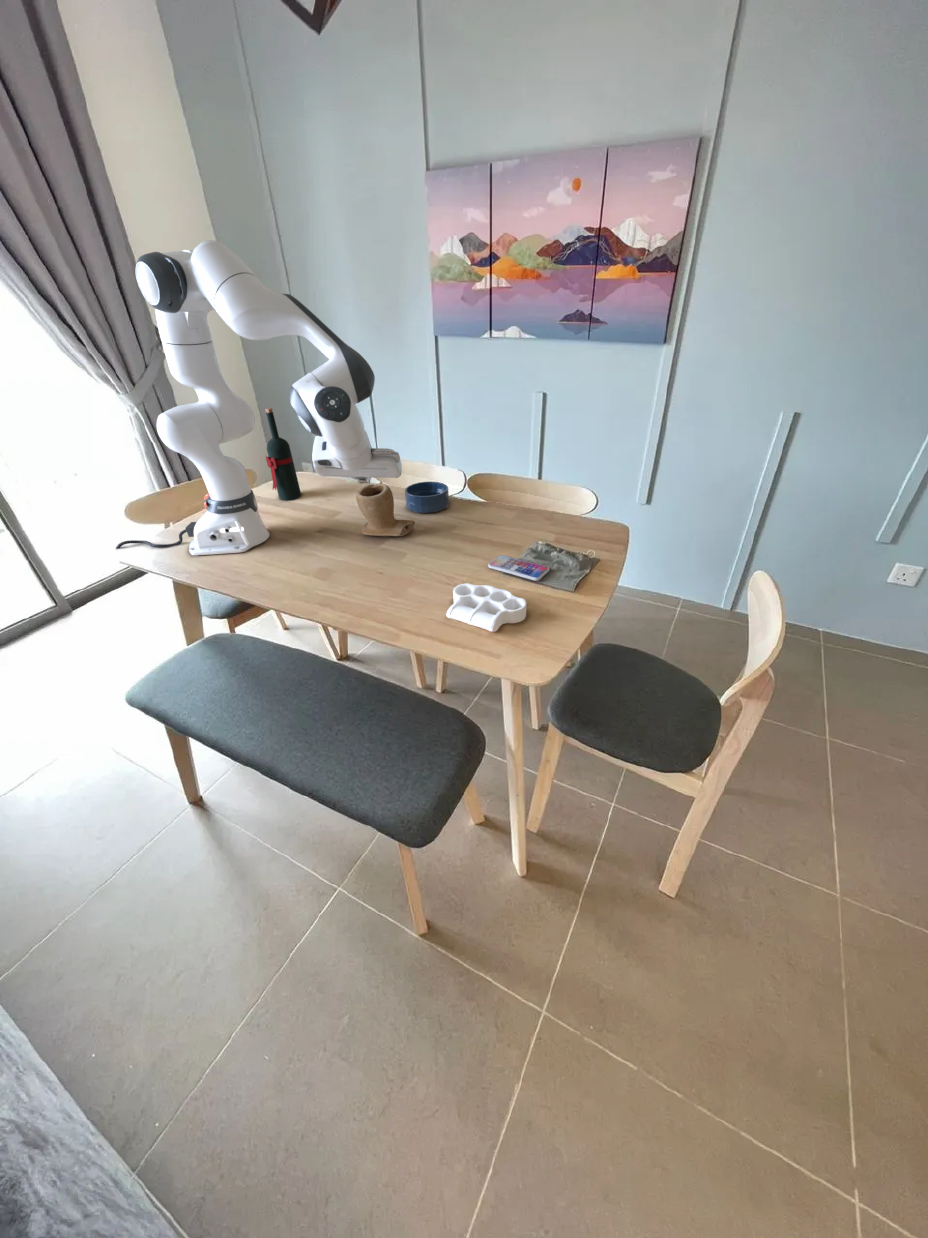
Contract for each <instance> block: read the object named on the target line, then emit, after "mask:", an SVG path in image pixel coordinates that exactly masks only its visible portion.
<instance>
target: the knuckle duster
mask: <svg viewBox="0 0 928 1238" xmlns="http://www.w3.org/2000/svg"><path fill="white" fill-rule="evenodd" d="M452 594H453V596H452V597H453V604H451V605H450V606H449V608H448V609H447V611H446V614H445V615H446V618H448V619H452V620H455V621H458V622H461V623H464V624H467V625H470V626H474V627H476V628H480V629H483V630H486V631H488V632H492V633H495V632H497V631H498V630H499V629H500V627H501V626H503V625H505V624H517V623H521V622H522V621H525V619H526V617H527V605H528V604H527V601H526V600H525V598H523V597H519V596H516V595H513V593H512V592H511V591H509V590H506V589H505V588H502V589H501V588H496V587H495V586H492V585H487V584H481V585H476V584H471V583H469V582H466V583H460V584H457V585H456V586H455V587H454V588H453V590H452Z"/></svg>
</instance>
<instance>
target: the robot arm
mask: <svg viewBox="0 0 928 1238" xmlns="http://www.w3.org/2000/svg"><path fill="white" fill-rule="evenodd" d="M135 264H136V265H135V278H136V282H137V285H138V288H139V290H140V292H141V294H142V296H143V297H144V299H145V300H146V302H147V303H149V305H150V306H151V307H152V308H154V313H155V320H156V325H157V329H158V334H159V337H160V341H161V345H162V349H163V352H164V356H165V358H166V363H167V366H168V369H169V373H170V374H171V376H172V377H173V378H174V379H175V381H177V382H178V383H180V384H181V385H183V386H185V387H188V388H191V389H193V390H194V391H195V393H196V395H197V397H198V401H196V402H190V403H187V404H186V403H185V404H181V405H177V406H173V407H172V408H169V409H167V410H166V411H164V412H161V413H160V414H158V416H157V419H156V431H157V434H158V436H159V438H160V440H161V442H163V444H164V445H165V446H166V447H167V448H168V449H169V450H171V451H172V452H175V453H178V454H180V455H182V456H184V457H186V458H187V459H188V460H189V461H190V462H191V463H192V464H193V465H194V466H195V467H196V468H197V470H198V471H199V473H200V475H201V478H202V479H203V482H204V484H205V486H206V487H205V488H206V490H207V492H208V493H206V494H205V496H204V498H203V499H204V501H203V503H204V504H203V505H204V509H206V511H205V512H204V513H203V515H202V516H201V517H199V519H198V520H196V521H190V523H189V524H188V525H187V526H185V529H183V530H181V531H180V532H179V534H178V541H176V542H174V543H167V544H165V543H159V544H158V543H152V542H150V541H148V540H132V539H131V540H124V541H121V542H119V543H118V544H117V545H116V546H115V550H118V549H121V547H122V546H124V545H128V544H146V545H147V546H149V547H153V548H170V547H174V546H179V545H181V544H182V543H183V535H184V534H186V533H187V536H188V537H189V538H193V539H192V540H191V541H190V543H189V545H188V551H189V554H191V555H192V556H209V555H210V556H211V555H222V554H223V555H224V554H238V553H245V552H247V551H249V550H250V549H251V548H253V547H256V546H258V545H260V544H262V543H264V542H266V541H267V540H268V539H269V538H270V532H269V530H268V528H266V525H265V524H264V521H263V519H262V518H261V515H260V512H259V506H258V501H257V499H256V495H255V493H254V491H253V489H252V488H251V486H250V482H249V478H248V475H247V472H246V468H245V466H244V465H243V464H242V462H240V461H239V460H238V459H236V458H234V457H231V456H226V455H224V454H223V452H222V451H221V448H220V445H222V444H225V443H227V442H233V441H235V440H238V439H241V438H243V437H245V436H246V435H248V434H249V433H251V432H252V431H253V430H254V429H255V425H256V424H255V423H256V417H255V414H254V411H253V409H252V407H251V405H250V404H249V403H248V402H247V400H245V399H243V398H242V397H241V396H239V395H237V394H236V393H235V392H233V390H232V389H231V388H230V387H229V385H228V384H227V382H226V380H225V378H224V376H223V374H222V372H221V368H220V365H219V363H218V362H219V361H218V359H217V353H216V350H215V346H214V341H213V338H212V334H211V331H210V327H209V323H208V314H209V313H210V312H211V311H215V312H216V313H217V315H218V316H219V317H220V319H221V320H222V321H223V322H224V323H225V324H226V325H227V327H229V329H231V330H232V332H234V333H235V334H236V335H237V336H239V337H241V338H244V339H246V340H250V341H266V340H267V341H269V340H272V339H275V338H280V337H287V336H299V337H302V338H305V339H306V340H307V341H309V343H311V344H312V346H314V348H316V349H317V350H319V352H320V353H322V354H323V355H324V356H325V357H326V358H327V359H328V360H326V361H325V362H324V363H322V364H321V365H320V366H317V368H315V369H314V370H312V371H311V372H308V373H306V374H305V375H304V376H302V377H300V379H298V380H296V381H294V383H293V384H292V385H290V388H289V393H288V402H289V404H290V406H291V407H292V409H293V411H294V413H295V415H296V417H297V418H298V420H299V422H300V423H301V424H302V426H303V427H304V428H305V430H307V432H309V433H310V434H313V435H314V436H315V437H314V441H313V444H312V455H311V456H312V457H311V458H312V465H313V468H314V471H315V473H316V474H317V475H318V476H320V477H336V478H337V477H342V478H351V479H353V480H355V481H357V484H366V485H371V479H372V478H379V479H380V478H384V479H385V478H386V479H387V478H388V479H398V478H400V477H401V476H402V471H403V469H402V468H403V464H402V460H401V456H400V453H399V452H398V451H396V450H394V449H392V448H386V447H385V448H384V447H383V448H381V447H373V446H372V443H371V441H370V438H369V435H368V433H367V431H366V429H365V423H364V420H363V417H362V415H361V412H360V410H359V408H358V406H357V404H359V403H361V402H363V401H365V400H367V399H368V398H370V397H372V394H373V391H374V387H375V383H376V382H375V381H376V377H375V374H374V371H373V369H372V367H371V365H370V364H369V362H368V361H367V359H365V358H364V357H363V356H362V354H360V353H359V352H358V351H357V350H355V349H354V348H352V347H351V346H349V344H347V343H345V341H344V340H342V339H341V338H340V337H339V336H338V335H337V334H336V333H335V332H334V331H333V330H332V329H330V328H329V327H328V326H327V325H326V323H324V321H322V320H321V319H320V318H319V317H317V315H316V314H314V312H313V311H311V310H310V309H309V308H308V307H307V306H306V305H304V304H303V303H302V302H301V301H300V300H298V299H297V298H296V297H295V296H293V295H291V294H290V293H280V292H277V291H275V290H273V289H271V288H269V287H268V286H266V285H265V284H263V282H261V281H260V280H259V278H258V277H257V275H255V273H254V272H253V271H252V270H251V268H250V267H249V266H248V265H247V264H246V263H245V262H244V261H243V259H242V258H241V257H239V256H238V255H237V254H236V253H235V252H234V251H233V250H232V249H231V248H229V247H228V246H227V245H226V244H224V243H222V242H220V241H218V240H205V241H202V242H200V243H199V244H197V245H196V246H195V247H194V249H193V250H192V249H183V250H175V251H174V250H173V251H166V252H160V251H152V252H149V253H145V254H142V255H140V256H139V257H138V258H137V261H136V263H135Z"/></svg>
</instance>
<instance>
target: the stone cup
mask: <svg viewBox="0 0 928 1238" xmlns="http://www.w3.org/2000/svg"><path fill="white" fill-rule="evenodd" d="M355 500H356V504H357V506H358V508H359V511H360V512H361V514H362V516H363V517H364V518H365V520H366V524H364V525H363V527H362V528H361V533H362V534H363V535H365V536H371V537H372V536H373V537H403V536H406V535H408V534H409V533H410V532H411V531H412V530H413V529H414V527H415V525H416V520H411V519H410V520H409V519H396V518H395V513H394V510H395V502H394V501H395V499H394V495H393V491H392V489H391V488H390V487H389V485H388V484H386V483H382V482H380V483H379V482H378V483H375V484H366V485H365V486H363V487H361V488H359V490H357V492H356V495H355Z"/></svg>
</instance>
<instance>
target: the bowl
mask: <svg viewBox="0 0 928 1238" xmlns="http://www.w3.org/2000/svg"><path fill="white" fill-rule="evenodd" d="M404 496H405V497H404V498H405V506H406V508H407V510H409V511H411V512H415V513H422V514H430V513H437V512H439V511H442V510H445V509H447V508H448V507H449V505H450V494H449V486H448V485H447V484H445V483H443V482H440V481H420V482H416V483H412V484H410V485H408V486H407V487H406V488H405V489H404Z"/></svg>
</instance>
